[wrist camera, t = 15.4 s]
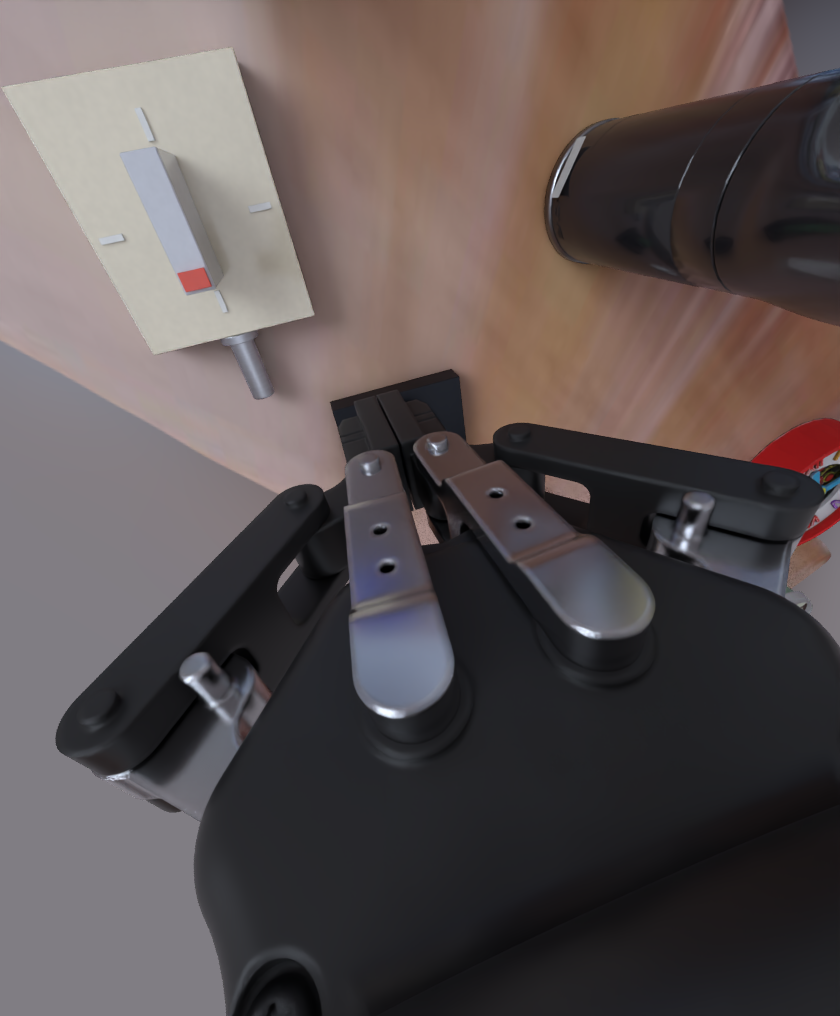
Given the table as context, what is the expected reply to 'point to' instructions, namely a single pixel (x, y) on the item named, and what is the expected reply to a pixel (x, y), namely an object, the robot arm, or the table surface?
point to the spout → (250, 363)
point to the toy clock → (811, 465)
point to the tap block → (209, 176)
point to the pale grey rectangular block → (174, 217)
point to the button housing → (431, 389)
